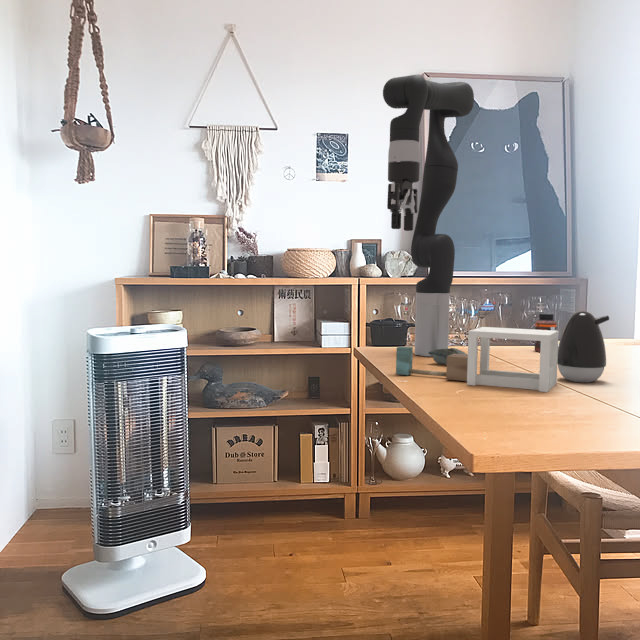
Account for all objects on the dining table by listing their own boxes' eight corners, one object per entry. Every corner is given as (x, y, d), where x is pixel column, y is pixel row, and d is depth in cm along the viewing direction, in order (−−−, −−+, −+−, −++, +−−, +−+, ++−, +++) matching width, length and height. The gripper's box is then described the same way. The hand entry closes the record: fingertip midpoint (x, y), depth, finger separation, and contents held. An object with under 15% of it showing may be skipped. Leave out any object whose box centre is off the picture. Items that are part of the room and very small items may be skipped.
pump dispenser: (607, 385, 146) (610, 313, 145) (554, 382, 149) (557, 311, 148) (605, 378, 155) (608, 310, 154) (556, 375, 159) (558, 309, 158)
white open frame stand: (481, 377, 155) (483, 326, 154) (556, 383, 148) (558, 330, 147) (466, 384, 145) (468, 330, 144) (547, 392, 137) (549, 335, 136)
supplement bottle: (558, 353, 203) (559, 314, 202) (537, 352, 203) (539, 313, 202) (551, 350, 209) (553, 312, 208) (531, 350, 209) (533, 312, 208)
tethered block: (402, 371, 160) (402, 345, 160) (475, 378, 152) (476, 350, 152) (394, 374, 156) (394, 347, 155) (469, 381, 148) (470, 353, 147)
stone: (436, 365, 182) (423, 358, 173) (440, 350, 182) (426, 342, 174) (476, 373, 176) (463, 365, 168) (479, 358, 177) (467, 349, 168)
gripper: (399, 166, 176) (398, 231, 177) (378, 158, 163) (376, 228, 164) (428, 165, 172) (426, 231, 174) (408, 156, 160) (406, 228, 161)
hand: (402, 229), depth 169 cm, fingers open, 8 cm apart
